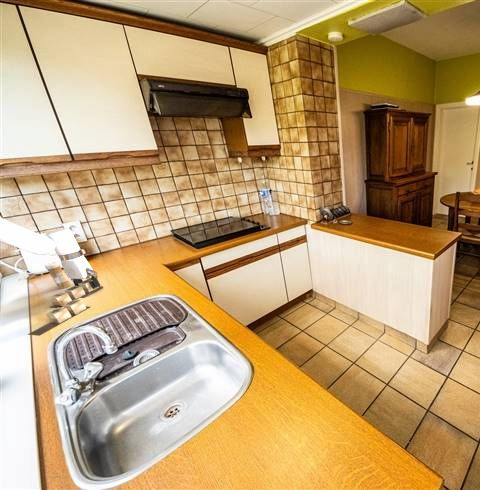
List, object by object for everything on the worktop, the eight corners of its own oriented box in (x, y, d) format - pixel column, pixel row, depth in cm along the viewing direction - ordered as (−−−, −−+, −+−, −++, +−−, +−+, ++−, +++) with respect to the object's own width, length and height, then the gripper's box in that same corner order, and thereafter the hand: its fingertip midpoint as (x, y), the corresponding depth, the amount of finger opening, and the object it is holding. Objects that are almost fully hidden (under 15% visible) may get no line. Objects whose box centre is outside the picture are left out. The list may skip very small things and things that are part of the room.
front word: (40, 337, 101) (32, 326, 99) (28, 336, 102) (20, 325, 100) (92, 308, 117) (86, 298, 115) (81, 307, 118) (75, 297, 116)
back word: (60, 310, 117) (54, 299, 115) (49, 309, 118) (43, 299, 116) (103, 287, 133) (98, 278, 131) (94, 287, 134) (88, 278, 132)
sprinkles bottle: (56, 288, 135) (42, 265, 130) (68, 283, 139) (54, 261, 133) (61, 289, 133) (47, 266, 128) (73, 285, 137) (59, 262, 132)
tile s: (89, 291, 128) (84, 283, 126) (82, 291, 129) (77, 283, 127) (98, 287, 132) (94, 279, 130) (91, 286, 133) (87, 278, 131)
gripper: (46, 258, 121) (65, 290, 128) (76, 259, 118) (94, 291, 125) (66, 251, 128) (83, 281, 134) (95, 252, 125) (111, 283, 132)
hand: (88, 286), depth 130 cm, fingers open, 9 cm apart
